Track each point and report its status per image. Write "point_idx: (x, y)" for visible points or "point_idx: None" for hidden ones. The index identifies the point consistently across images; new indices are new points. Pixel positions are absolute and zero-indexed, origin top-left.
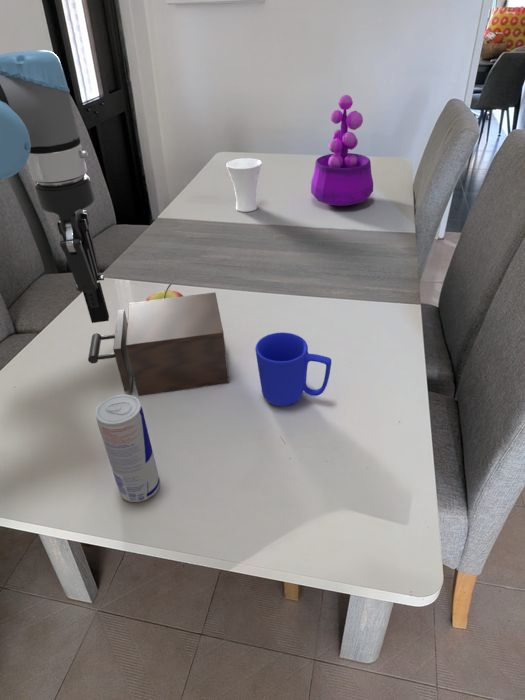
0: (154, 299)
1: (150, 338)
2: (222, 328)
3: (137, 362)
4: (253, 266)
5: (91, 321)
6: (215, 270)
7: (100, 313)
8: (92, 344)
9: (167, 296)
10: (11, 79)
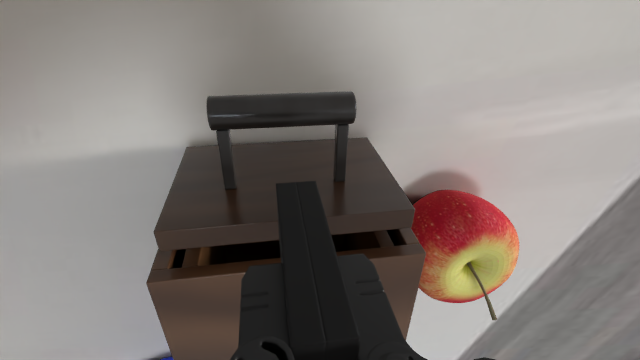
0: (481, 252)
1: (185, 333)
2: None
3: None
4: (570, 325)
5: (276, 187)
6: (604, 275)
7: (280, 249)
8: (284, 111)
9: (482, 275)
10: None
